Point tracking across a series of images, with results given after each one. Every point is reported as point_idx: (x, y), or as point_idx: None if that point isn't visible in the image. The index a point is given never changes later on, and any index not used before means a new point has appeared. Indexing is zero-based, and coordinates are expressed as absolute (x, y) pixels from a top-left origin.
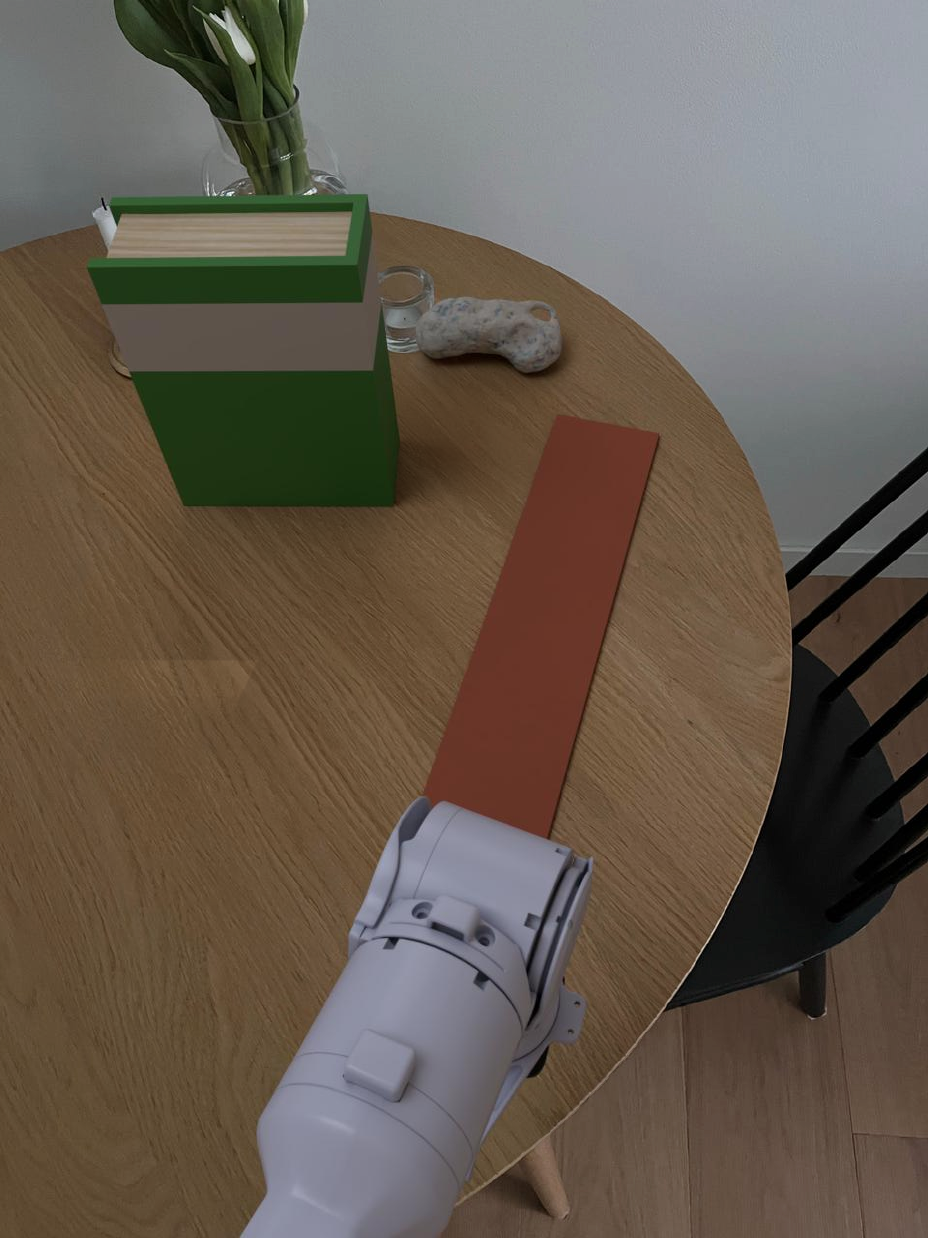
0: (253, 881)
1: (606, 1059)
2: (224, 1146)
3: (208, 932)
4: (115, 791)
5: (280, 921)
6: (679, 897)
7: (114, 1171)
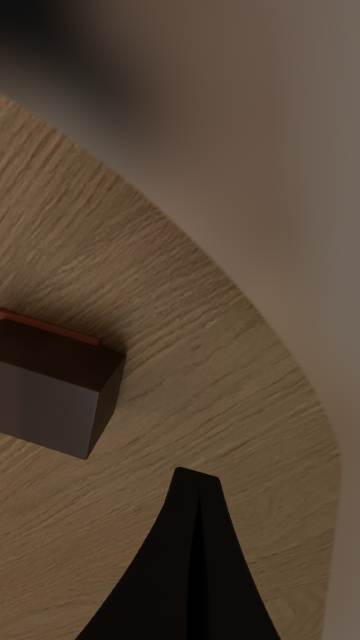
0: (66, 537)
1: (197, 248)
2: (270, 560)
3: (110, 565)
4: (16, 614)
5: (95, 521)
6: (12, 151)
7: (284, 620)
